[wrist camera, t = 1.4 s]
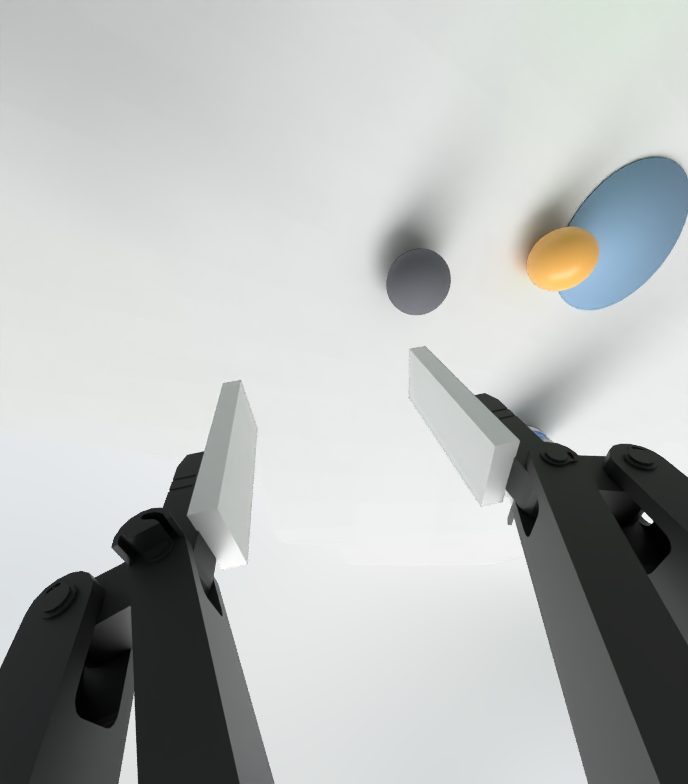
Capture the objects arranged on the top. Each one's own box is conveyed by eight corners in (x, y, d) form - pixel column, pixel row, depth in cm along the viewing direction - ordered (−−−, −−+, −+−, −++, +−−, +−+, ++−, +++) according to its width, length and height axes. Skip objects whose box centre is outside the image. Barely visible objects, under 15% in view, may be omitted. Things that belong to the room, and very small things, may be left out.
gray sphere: (368, 271, 28) (385, 285, 24) (417, 231, 27) (446, 238, 23) (396, 315, 31) (417, 336, 27) (442, 281, 30) (472, 296, 26)
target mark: (541, 227, 29) (542, 227, 29) (689, 117, 27) (691, 117, 26) (569, 333, 37) (570, 333, 37) (686, 255, 34) (688, 256, 34)
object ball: (507, 249, 30) (548, 259, 25) (559, 210, 29) (613, 213, 24) (522, 294, 33) (562, 310, 28) (570, 260, 32) (620, 271, 27)
